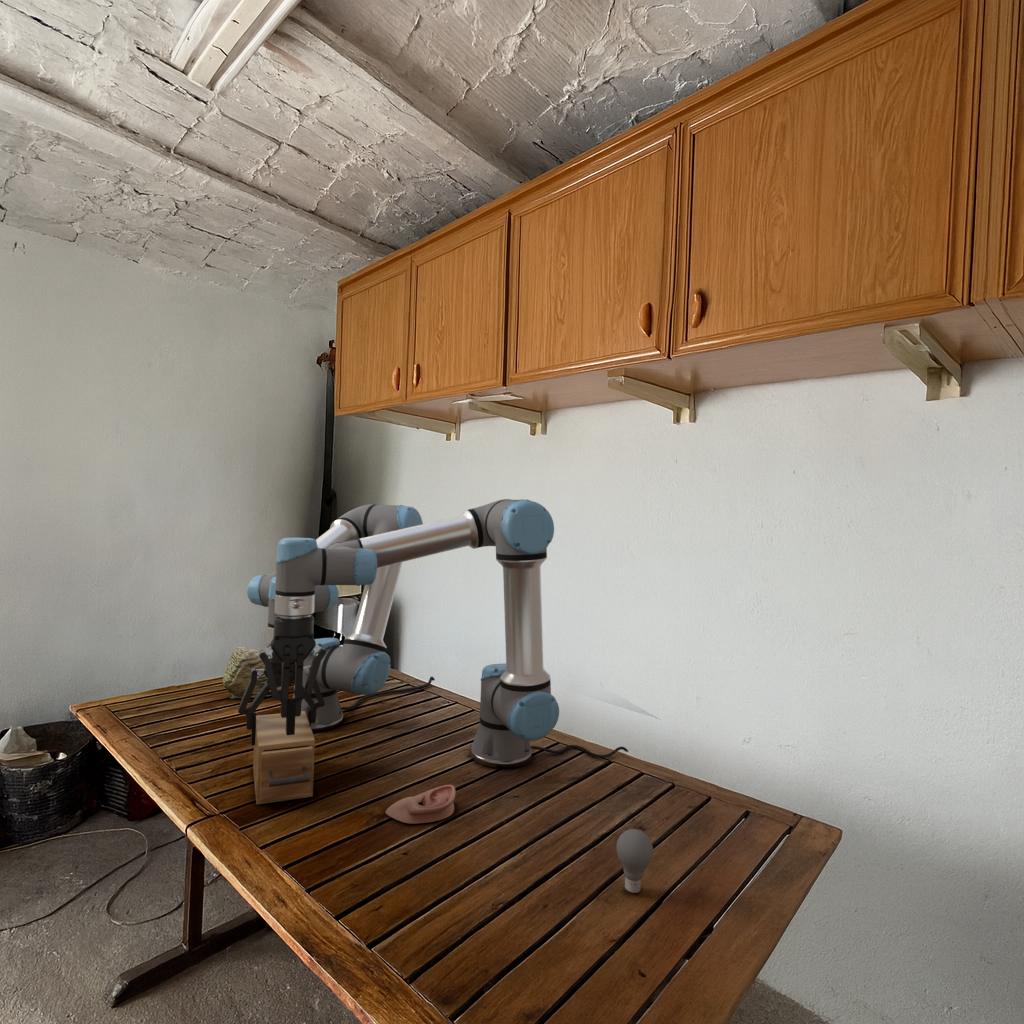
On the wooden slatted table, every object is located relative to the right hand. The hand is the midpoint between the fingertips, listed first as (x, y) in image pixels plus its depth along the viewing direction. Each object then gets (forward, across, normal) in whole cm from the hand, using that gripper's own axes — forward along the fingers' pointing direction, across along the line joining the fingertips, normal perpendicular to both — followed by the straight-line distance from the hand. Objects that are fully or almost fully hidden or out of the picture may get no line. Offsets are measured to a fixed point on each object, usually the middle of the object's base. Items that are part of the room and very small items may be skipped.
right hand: (290, 732), depth 127 cm
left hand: (+9, 0, +19) cm, 21 cm away
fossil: (+16, -3, +79) cm, 81 cm away
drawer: (+15, 0, +9) cm, 17 cm away
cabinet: (+16, 0, +14) cm, 21 cm away
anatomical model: (+16, +25, -9) cm, 31 cm away
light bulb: (+16, +51, -46) cm, 71 cm away
